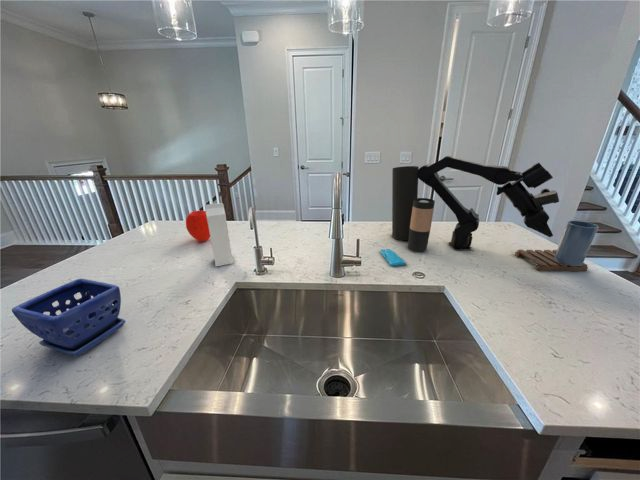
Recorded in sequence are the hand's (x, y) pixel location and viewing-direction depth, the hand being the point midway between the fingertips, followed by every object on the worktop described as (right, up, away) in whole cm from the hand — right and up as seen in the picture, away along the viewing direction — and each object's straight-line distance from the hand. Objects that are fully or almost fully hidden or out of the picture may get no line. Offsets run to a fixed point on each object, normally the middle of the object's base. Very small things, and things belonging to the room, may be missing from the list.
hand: (549, 232), depth 89 cm
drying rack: (+3, -11, +3) cm, 12 cm away
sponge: (-52, -10, +8) cm, 54 cm away
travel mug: (-40, -6, +16) cm, 43 cm away
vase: (-42, -1, +27) cm, 50 cm away
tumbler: (+6, -10, -1) cm, 12 cm away
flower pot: (-134, -26, -28) cm, 140 cm away
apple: (-132, -3, +27) cm, 134 cm away
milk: (-115, -11, +7) cm, 116 cm away
